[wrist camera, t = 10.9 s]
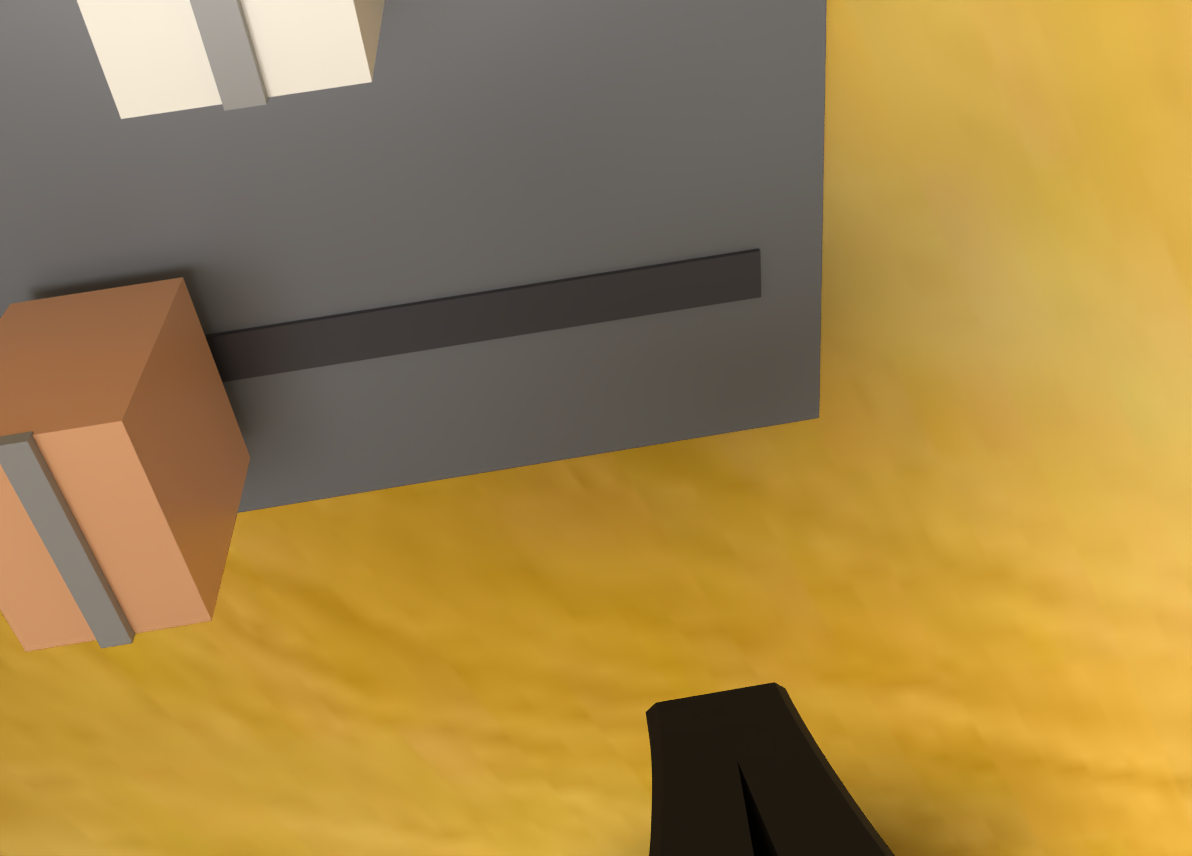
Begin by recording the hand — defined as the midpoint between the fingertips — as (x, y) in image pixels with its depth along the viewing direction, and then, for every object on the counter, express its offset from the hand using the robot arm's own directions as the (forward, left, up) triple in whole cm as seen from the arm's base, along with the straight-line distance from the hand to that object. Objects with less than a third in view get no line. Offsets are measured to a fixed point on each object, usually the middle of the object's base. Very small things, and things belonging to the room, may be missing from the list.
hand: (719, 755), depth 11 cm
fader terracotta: (-7, +1, -7) cm, 10 cm away
